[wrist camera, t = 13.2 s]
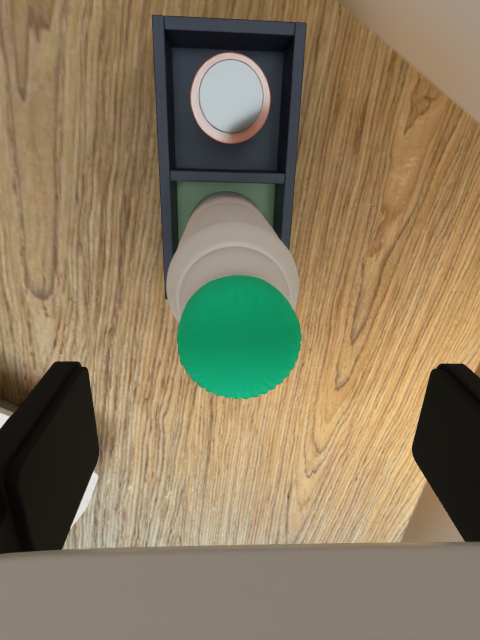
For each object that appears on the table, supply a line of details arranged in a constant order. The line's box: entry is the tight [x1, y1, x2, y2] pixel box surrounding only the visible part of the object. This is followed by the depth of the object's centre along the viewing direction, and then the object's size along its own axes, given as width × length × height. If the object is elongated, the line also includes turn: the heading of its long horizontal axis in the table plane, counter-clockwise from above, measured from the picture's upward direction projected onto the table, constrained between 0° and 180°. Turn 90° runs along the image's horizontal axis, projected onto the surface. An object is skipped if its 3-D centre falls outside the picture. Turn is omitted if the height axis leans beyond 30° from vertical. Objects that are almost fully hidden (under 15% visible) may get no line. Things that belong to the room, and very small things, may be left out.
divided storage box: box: [152, 15, 307, 299], centre depth 34 cm, size 11×20×6 cm, turn 178°
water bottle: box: [166, 191, 302, 399], centre depth 26 cm, size 7×7×25 cm
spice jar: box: [190, 52, 271, 146], centre depth 29 cm, size 5×5×10 cm
